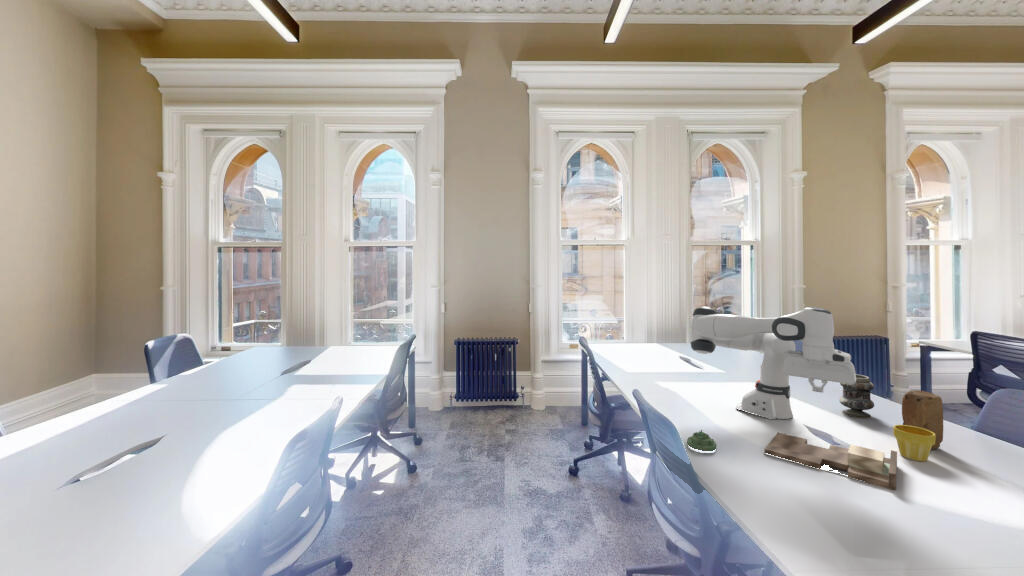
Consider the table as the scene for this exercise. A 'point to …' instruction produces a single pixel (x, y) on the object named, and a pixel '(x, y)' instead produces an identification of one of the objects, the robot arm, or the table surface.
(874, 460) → the maple block
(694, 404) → the table surface
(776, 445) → the box
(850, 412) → the apothecary jar
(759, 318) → the robot arm
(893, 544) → the table surface
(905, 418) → the block
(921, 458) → the plant pot
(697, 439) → the decorative artifact
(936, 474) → the table surface
